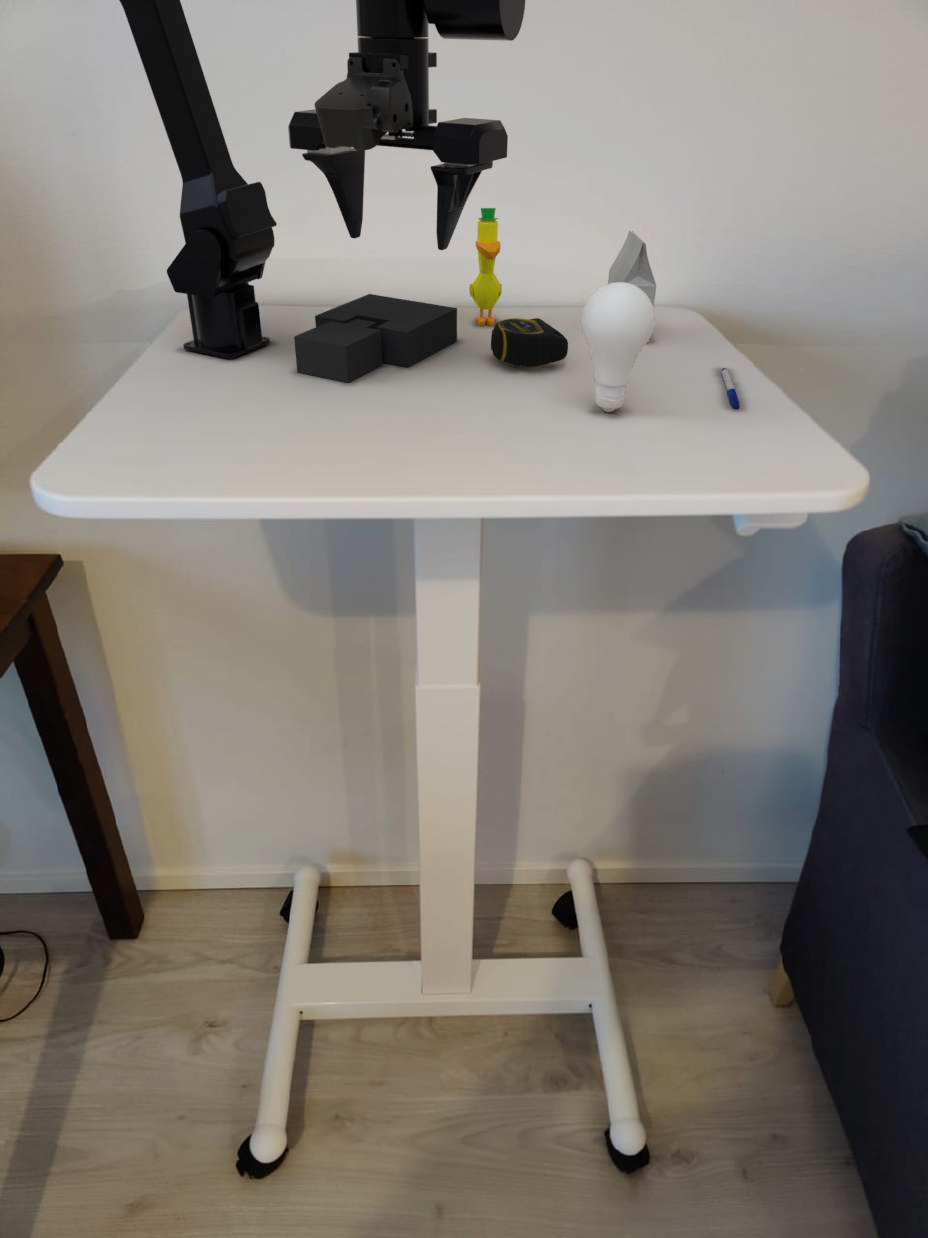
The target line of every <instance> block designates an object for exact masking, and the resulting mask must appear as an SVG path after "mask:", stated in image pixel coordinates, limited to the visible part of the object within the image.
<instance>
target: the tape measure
mask: <svg viewBox="0 0 928 1238" xmlns="http://www.w3.org/2000/svg"><path fill="white" fill-rule="evenodd" d="M490 350H491V351H492V352H491V353H492V355H493V357H494V358H496V359H497V360H498V361H499V362H502V363H504V364H507V365H510V366H513V368H520V367H526V368H529V367H532V368H533V367H534V368H535V367H540V366H545V365H549V364H553V363H557V362H561V361H562V360H565V358H566V357H567V356H568V350H569V341H568V339H567V338H566V337H565V335H564V334H563V333H561V332H560V331H559V330H557V329H555V328H554V327H553V326H551V325H550V324H549V323H547V322H545V320H543V319H542V318H540V317H535V318H530V319H528V318H527V319H526V318H518V317H517V318H515V317H513V318H507V319H502V320H500V321H498V322H497V323H495V324H494V326H493V329H492V330H491V335H490Z"/></svg>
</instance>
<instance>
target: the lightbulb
mask: <svg viewBox="0 0 928 1238" xmlns="http://www.w3.org/2000/svg"><path fill="white" fill-rule="evenodd" d="M654 308H655V307H654ZM654 308H653V305H652V303H651V301H650V299H649V297H648V296H647V295H646V293H645V292H643V291H642V290H641V289H640V288H638V287H636V286H635V285H633V284H629V283H625V282H616V283H610V284H608V283H607V284H604V285H603V286H601V287H600V288H598V289H596V290H595V291H594V292H593V293H592V294H591V296H590V297H589V298H588V299H587V301H586V303H585V304H584V307H583V309H582V313H581V319H580V322H581V323H580V324H581V325H580V326H581V331H582V334H583V337H584V340H585V342H586V343H585V344H586V345H587V347H588V349H589V351H590V354H591V358H592V359H591V360H592V364H593V381H594V382H595V389H594V390H595V393H594V402H595V404H596V406H597V407H599V408H601V409H602V411H604V412H606V413H611V412H612V413H613V412H614V411H615V410H616V409H619V408H620V409H621V407H623V405H624V402H625V399H626V390H627V386H628V384H629V383H630V381H631V375H632V371H633V368H634V365H635V363H636V360H637V358H638V357H639V355H640V353H641V352H642V351H643V349H644V348H645V347H646V345H647V344H648V343H647V341H648V340H649V338H650V339H651V337H652V335H653V332H654V328H655V323H656V315H655V309H654Z"/></svg>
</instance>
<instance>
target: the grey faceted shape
mask: <svg viewBox="0 0 928 1238" xmlns="http://www.w3.org/2000/svg"><path fill="white" fill-rule="evenodd" d="M616 282H625V283H629V284H633V285H635V286H636V287H638V288H640V289H641V290H642V291H643V292H645V293H646V295H647V296H648V297H649V299H650V301H651V303H652V305H653V308H655V300H656V291H657V283H656V280H655V277H654V273H653V271H652V268H651V265H650V261H649V257H648V251H647V244H646V242H644V240H642V239H641V237H639V236H638V235H637V234H636V233H635V232H634V231H633V230H628V233H627V236H626V239H625V240H624V242H623V245H622V247H621V248H620V251H619V252H618V254H617V256H616V257H615V259H614V260H613V263H612V265H611V266H610V268H609V269H608V278H607V285H608V284H610V283H616ZM650 340H651V337H650V338H649V340H648V341H647V343H646V344H649V343H650Z"/></svg>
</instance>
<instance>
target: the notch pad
mask: <svg viewBox="0 0 928 1238" xmlns="http://www.w3.org/2000/svg"><path fill="white" fill-rule="evenodd" d="M356 319H360V320H366V321H372V322H377V327H376V329H377V330H381V342H382V364H384V363H385V364H388V365H393V366H398V367H403V368H409V367H412V366H414V365H415V364H417V363H419V362H421V361H422V360H425V359H426V358H429V357H430V356H432V355H434V354H436V353H438V352H440V351H441V350H443V349H445V348H447V347H449V346H451V345H453V344H455V343H457V341H458V308H457V307H454V306H453V307H452V306H446V305H441V304H435V303H434V304H433V303H430V302H429V303H428V302H422V301H416V300H409V299H403V298H397V297H392V296H384V295H379V294H373V293H368V294H366V295H363V296H361V297H358V298H356V299H353V300H351V301H349V302H346V303H343V304H341V305H337V306H336V307H333V308H331V309H329V310H326V311H323V312H321V313H319V314H316V315H314V321H315V328H316V327H318V326H320V325H323V324H325V323H328V322H330V321H332V322H338V323H344V324H346V323H349V322H351V321H353V320H356Z"/></svg>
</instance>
